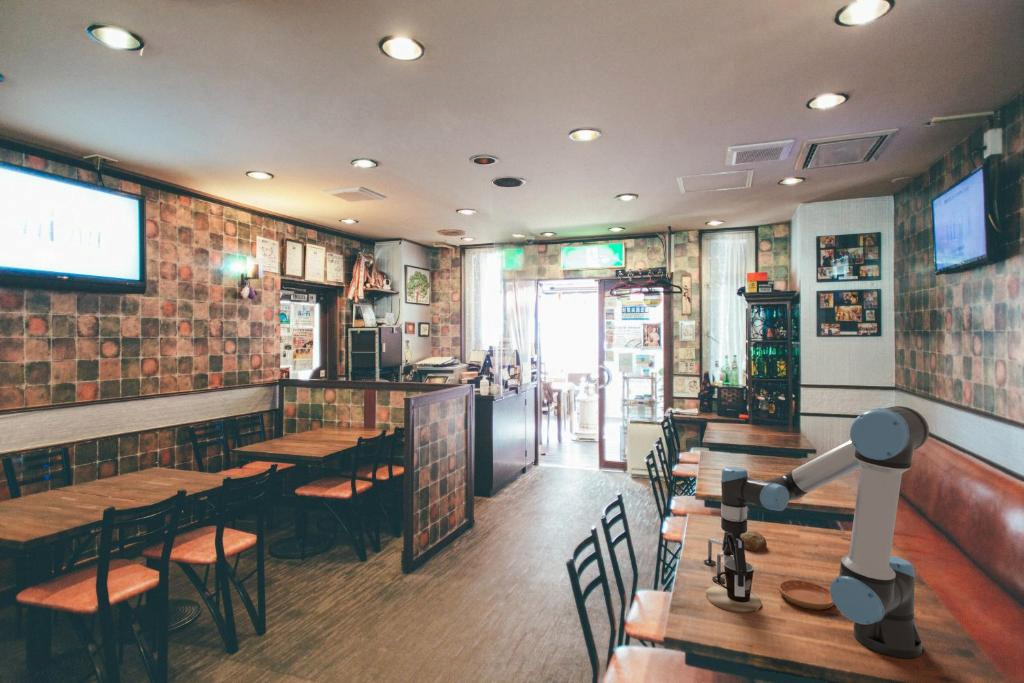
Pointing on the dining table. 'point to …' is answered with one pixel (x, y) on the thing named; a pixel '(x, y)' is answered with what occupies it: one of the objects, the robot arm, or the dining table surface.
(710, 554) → the bent wire
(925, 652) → the dining table surface
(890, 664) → the dining table surface
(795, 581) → the saucer
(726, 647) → the dining table surface
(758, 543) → the bread roll
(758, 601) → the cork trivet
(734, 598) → the coffee mug
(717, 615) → the dining table surface
